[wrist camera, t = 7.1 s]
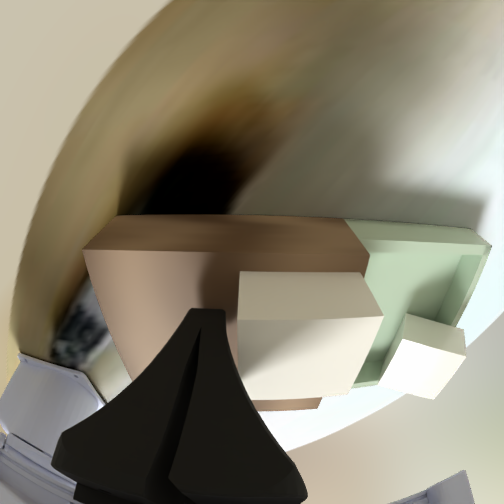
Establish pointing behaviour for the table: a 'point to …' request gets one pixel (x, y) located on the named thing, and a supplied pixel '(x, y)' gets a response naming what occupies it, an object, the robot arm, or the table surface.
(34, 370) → the robot arm
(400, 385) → the tile
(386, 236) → the tray
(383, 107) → the table surface
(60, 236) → the table surface
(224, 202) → the table surface
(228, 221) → the board
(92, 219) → the table surface
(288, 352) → the tile
